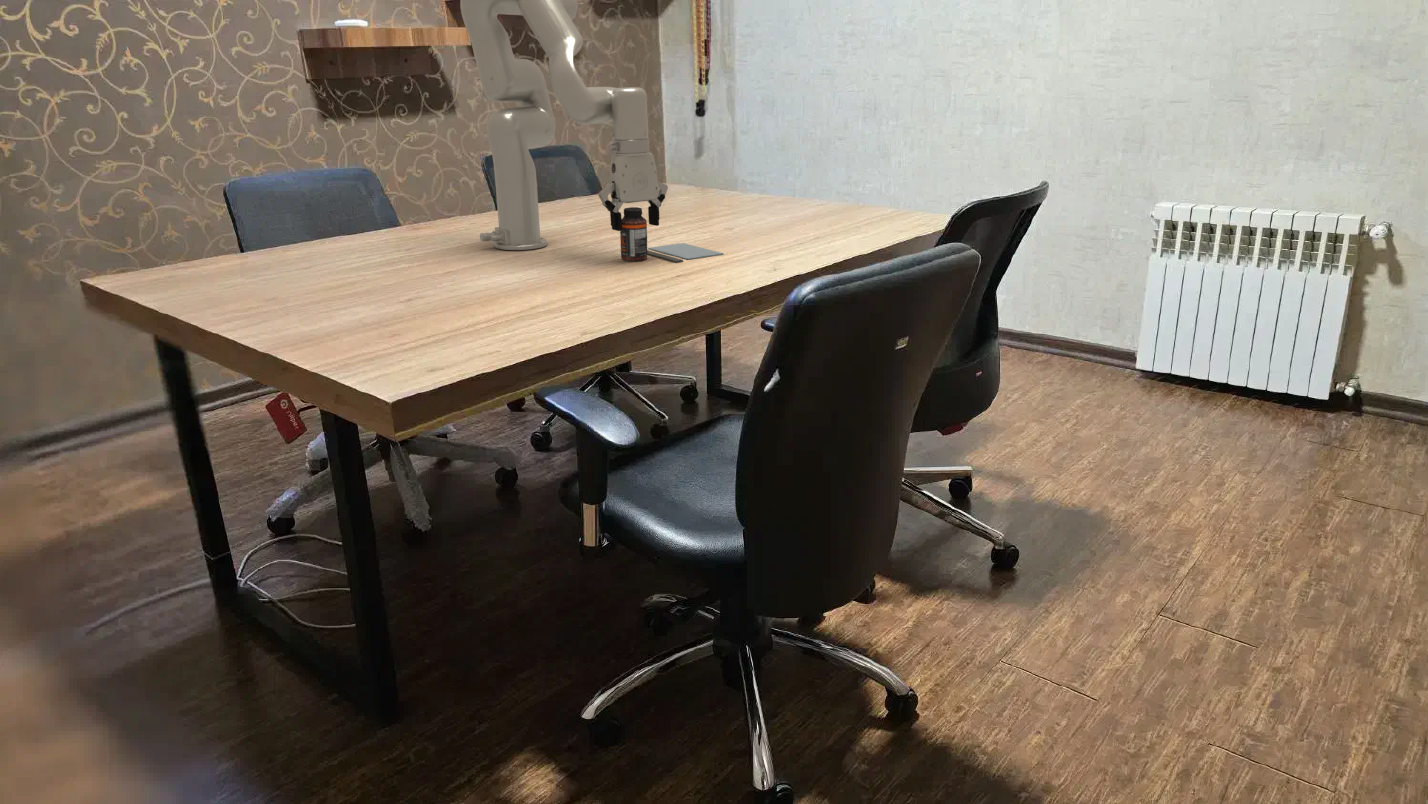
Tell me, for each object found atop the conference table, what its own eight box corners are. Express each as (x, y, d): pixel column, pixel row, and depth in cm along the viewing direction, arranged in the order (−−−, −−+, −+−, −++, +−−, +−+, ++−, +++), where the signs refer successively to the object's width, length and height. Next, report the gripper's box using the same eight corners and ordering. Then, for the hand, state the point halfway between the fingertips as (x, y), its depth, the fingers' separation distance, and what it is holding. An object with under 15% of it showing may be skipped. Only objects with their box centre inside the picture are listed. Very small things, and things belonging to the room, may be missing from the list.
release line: (675, 263, 212) (675, 261, 212) (631, 250, 226) (631, 248, 226) (683, 261, 213) (683, 260, 213) (638, 249, 227) (638, 247, 227)
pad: (687, 260, 215) (687, 258, 215) (648, 249, 227) (648, 247, 227) (723, 254, 221) (723, 253, 221) (682, 244, 233) (682, 243, 233)
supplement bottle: (617, 258, 218) (615, 207, 214) (642, 255, 220) (640, 205, 216) (626, 263, 213) (624, 211, 209) (651, 260, 215) (650, 209, 211)
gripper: (606, 151, 200) (611, 234, 206) (674, 146, 210) (677, 225, 216) (587, 149, 206) (593, 230, 212) (655, 144, 216) (658, 221, 221)
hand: (635, 227), depth 214 cm, fingers open, 9 cm apart
